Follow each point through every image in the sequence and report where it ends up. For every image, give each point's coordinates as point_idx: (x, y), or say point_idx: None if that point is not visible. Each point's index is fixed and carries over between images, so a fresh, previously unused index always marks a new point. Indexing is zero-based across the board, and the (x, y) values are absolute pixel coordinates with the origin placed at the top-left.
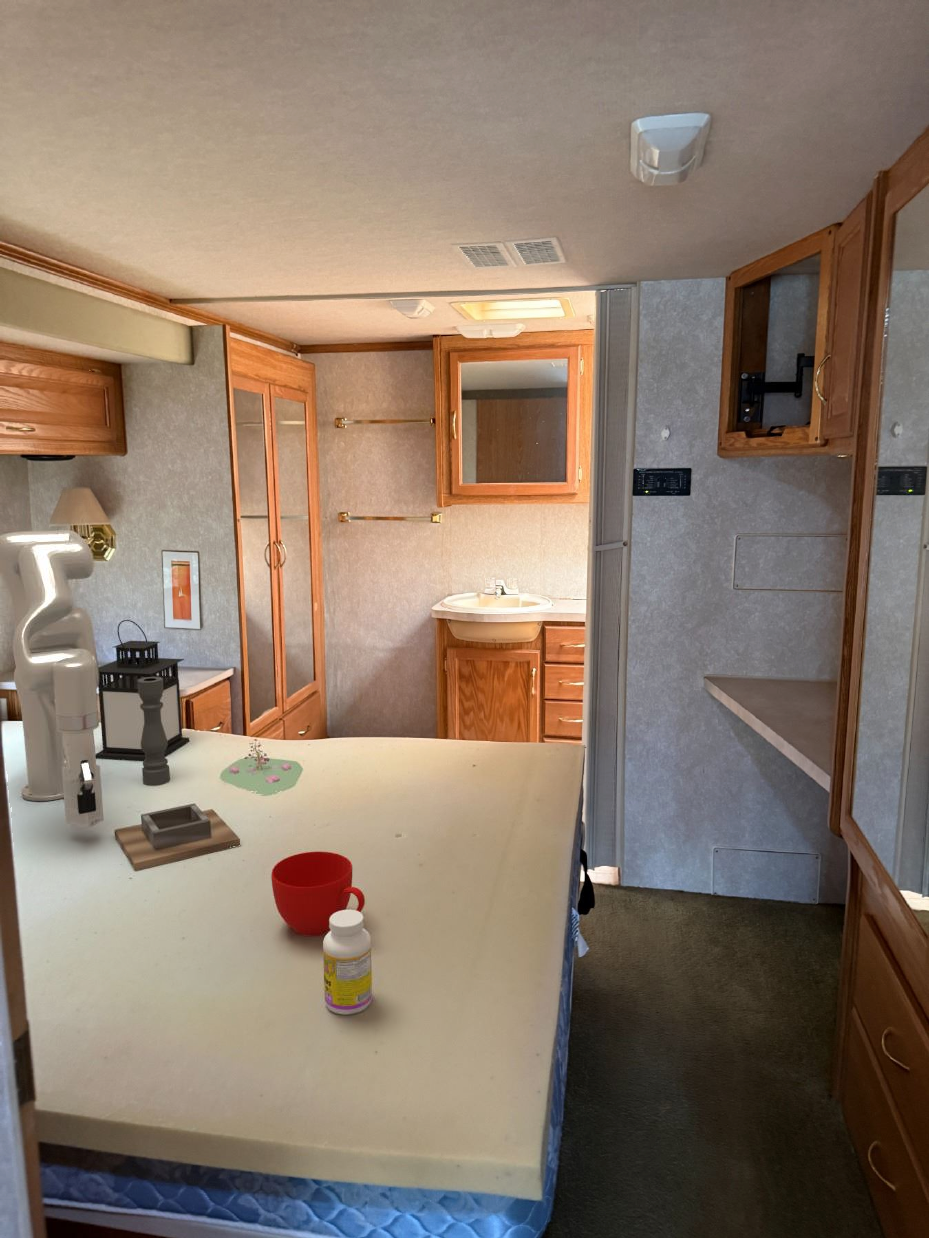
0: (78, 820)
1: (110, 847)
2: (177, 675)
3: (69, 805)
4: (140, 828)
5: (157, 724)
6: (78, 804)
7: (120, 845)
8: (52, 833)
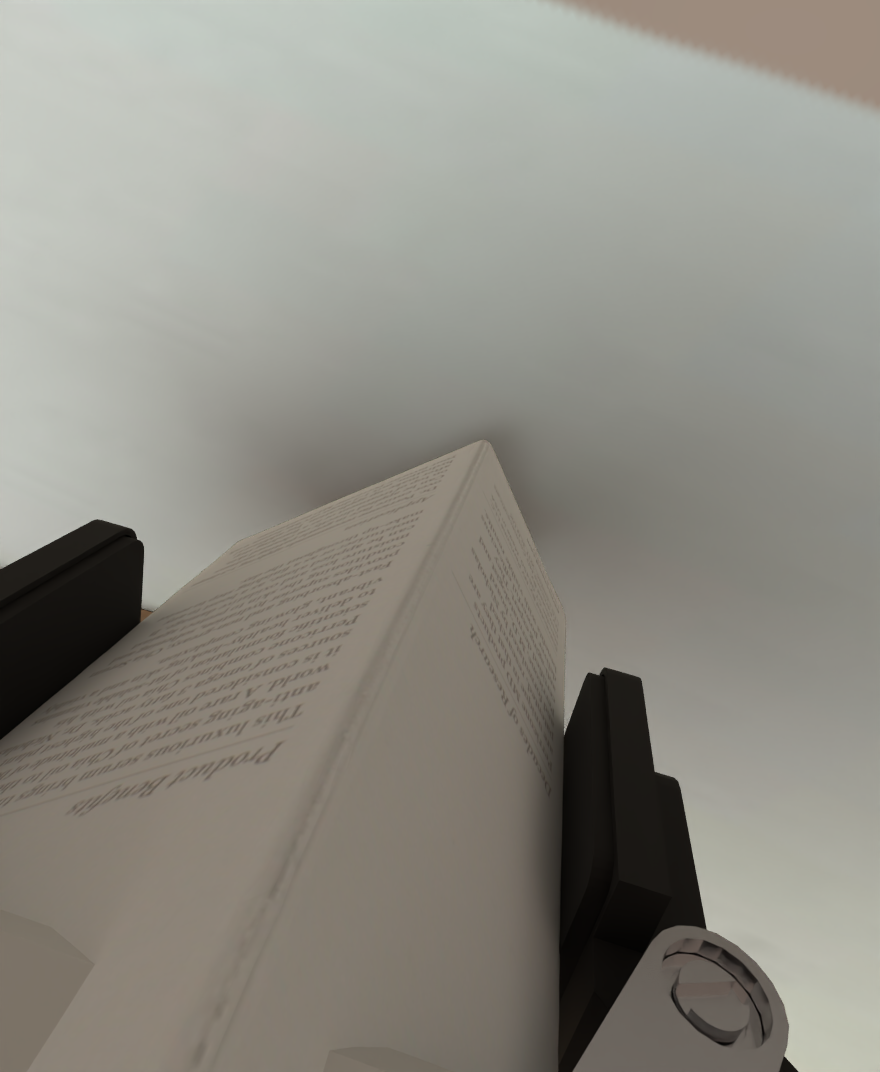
0: (312, 517)
1: (171, 562)
2: None
3: (361, 538)
4: None
5: None
6: (11, 569)
7: (141, 613)
8: (771, 376)
